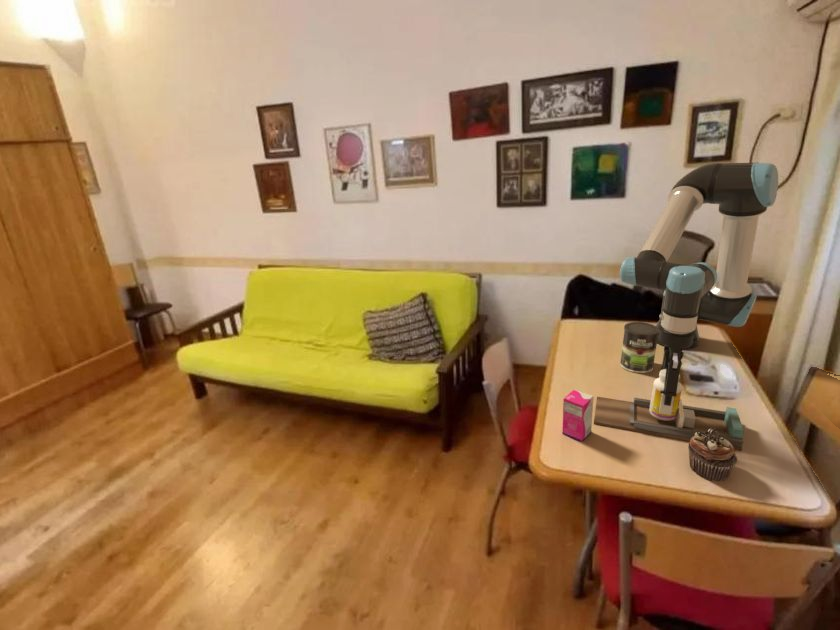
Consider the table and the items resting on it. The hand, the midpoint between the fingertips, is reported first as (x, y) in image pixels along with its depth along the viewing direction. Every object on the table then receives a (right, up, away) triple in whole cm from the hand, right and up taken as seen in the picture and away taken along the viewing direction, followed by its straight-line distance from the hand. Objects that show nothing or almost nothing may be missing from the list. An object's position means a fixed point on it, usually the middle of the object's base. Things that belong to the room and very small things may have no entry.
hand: (664, 405), depth 118 cm
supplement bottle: (0, -3, +1) cm, 3 cm away
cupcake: (+2, -12, -15) cm, 19 cm away
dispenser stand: (+1, -5, +1) cm, 5 cm away
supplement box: (-24, -8, 0) cm, 25 cm away
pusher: (+5, -4, -1) cm, 7 cm away
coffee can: (+8, +7, +30) cm, 32 cm away
